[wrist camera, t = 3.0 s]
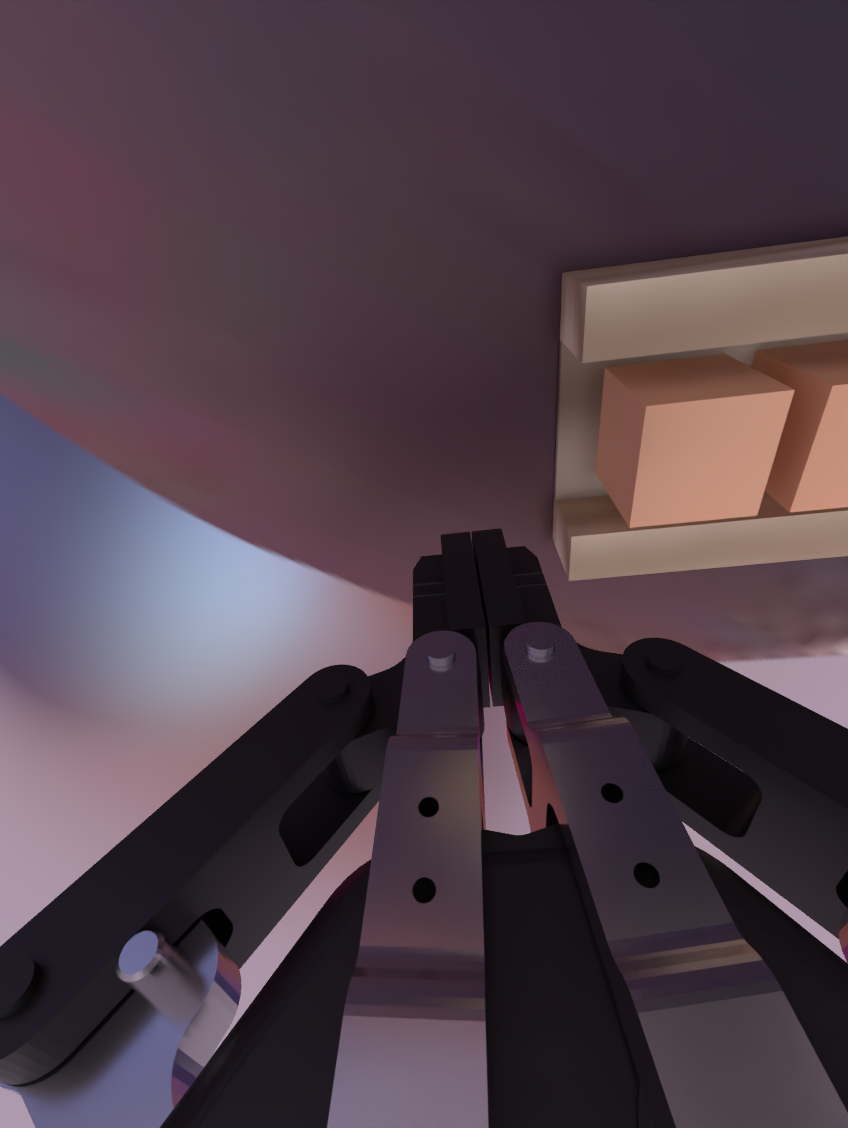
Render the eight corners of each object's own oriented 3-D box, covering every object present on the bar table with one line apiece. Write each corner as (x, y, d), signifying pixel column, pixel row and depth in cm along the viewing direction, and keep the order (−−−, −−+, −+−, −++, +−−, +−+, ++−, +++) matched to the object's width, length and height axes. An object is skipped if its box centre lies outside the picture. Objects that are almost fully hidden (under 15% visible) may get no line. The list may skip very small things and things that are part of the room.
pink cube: (604, 367, 18) (646, 406, 14) (725, 353, 17) (794, 389, 14) (595, 473, 20) (629, 527, 17) (701, 462, 20) (757, 515, 17)
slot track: (562, 272, 16) (587, 286, 14) (929, 226, 16) (1023, 231, 13) (552, 538, 22) (568, 581, 20) (821, 512, 21) (872, 553, 19)
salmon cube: (755, 349, 17) (832, 385, 14) (880, 335, 17) (988, 368, 14) (728, 460, 20) (789, 512, 16) (838, 448, 19) (922, 499, 16)
